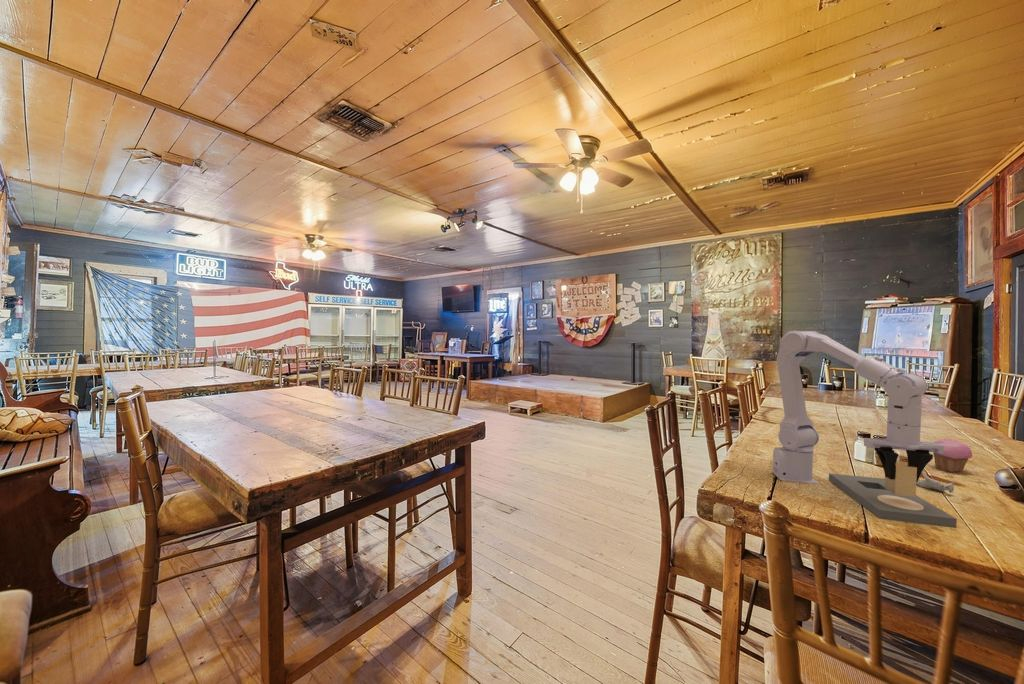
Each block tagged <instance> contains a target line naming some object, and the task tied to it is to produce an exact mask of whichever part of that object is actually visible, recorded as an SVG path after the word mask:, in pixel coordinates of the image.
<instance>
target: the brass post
mask: <svg viewBox="0 0 1024 684" xmlns="http://www.w3.org/2000/svg"><path fill="white" fill-rule="evenodd" d="M884 479H885V485H884V488H885V489H887V490H889V491H890V492H892V493H893V494H896V495H905V496H915V497H916V494H917V484H916V479H917V467H915V466H913V465H911V464H909V463H908V461H907V462H906V461H901V460H900V461H899V460H896V465H895V476H894V480H892V479H889V478H887V477H885V476H884Z"/></svg>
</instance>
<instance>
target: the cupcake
mask: <svg viewBox="0 0 1024 684" xmlns="http://www.w3.org/2000/svg"><path fill="white" fill-rule="evenodd" d="M933 443H938V444H941V445H943V446H944V453H943V454H942V453H936V452H932V453H933V454H932V455H933V458H934V466H935V468H936V469H939V470H940V469H941V470H940V471H945V472H949V473H955V472H958V473H962V472H963V471H964V468H965V466H966V464H967V462H968V461H969V459H971V458H972V457H973V452H972V450H971V449H972V448H970V447H969V446H968V445H967V444H965V443H963V442H962V441H958V440H954V439H948V438H947V439H946V438H942V439H940V438H939V439H938V440H936V441H934V442H933Z"/></svg>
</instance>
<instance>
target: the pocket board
mask: <svg viewBox="0 0 1024 684" xmlns="http://www.w3.org/2000/svg"><path fill="white" fill-rule="evenodd" d="M828 481H829V482H830V483H832V484H833V485H835V486H836V487H837V488H839V489H840V490H841V491H843V492H844V493H845V494H847V495H848V496H849V497H851V499H853V500H854V501H856V502H857V503H858V504H860V505H861V506H862V507H864V508H865V510H868V511H869V512H870V513H872V514H873V515H874V516H876V517H877V518H878V519H879V520H881V519H882V520H889V521H898V522H904V523H905V522H906V523H914V524H923V525H930V526H941V527H947V528H955V529H956V528H957V522H958V521H957V520H958V518H956V517H954V516H953V515H951V514H949V513H947V512H946V511H944V510H943V509H942V508H939V507H937V506H936V505H934V504H932V503H930V502H928V501H926V500H925V499H924V498H922V497H920V496H919V495H916V497H915V496H905V495H896V494H893V493H892V492H890V491H889V490H887V489H885V488H884V485H885V478H881V477H880V478H879V477H870V476H860V475H850V474H849V475H848V474H840V473H828Z"/></svg>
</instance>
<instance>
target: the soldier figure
mask: <svg viewBox="0 0 1024 684" xmlns="http://www.w3.org/2000/svg"><path fill="white" fill-rule="evenodd" d="M921 474H922V477H923V478H924V479H920V478H919V479H918V482H916V486H918V487H921V488H924V489H929V490H932V489H933V490H937V491H939V492H941V493H942V492H943V493H944V492H945V491H948V492H949V494H951V493H953V492H954V490H955V485H954V483H953V482H949V483H943V482H942V481H939V480H937V479H934V478H931V477H929V476H928V475H927V474H926V472H925V470H924V469H923V471H922V473H921Z"/></svg>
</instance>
